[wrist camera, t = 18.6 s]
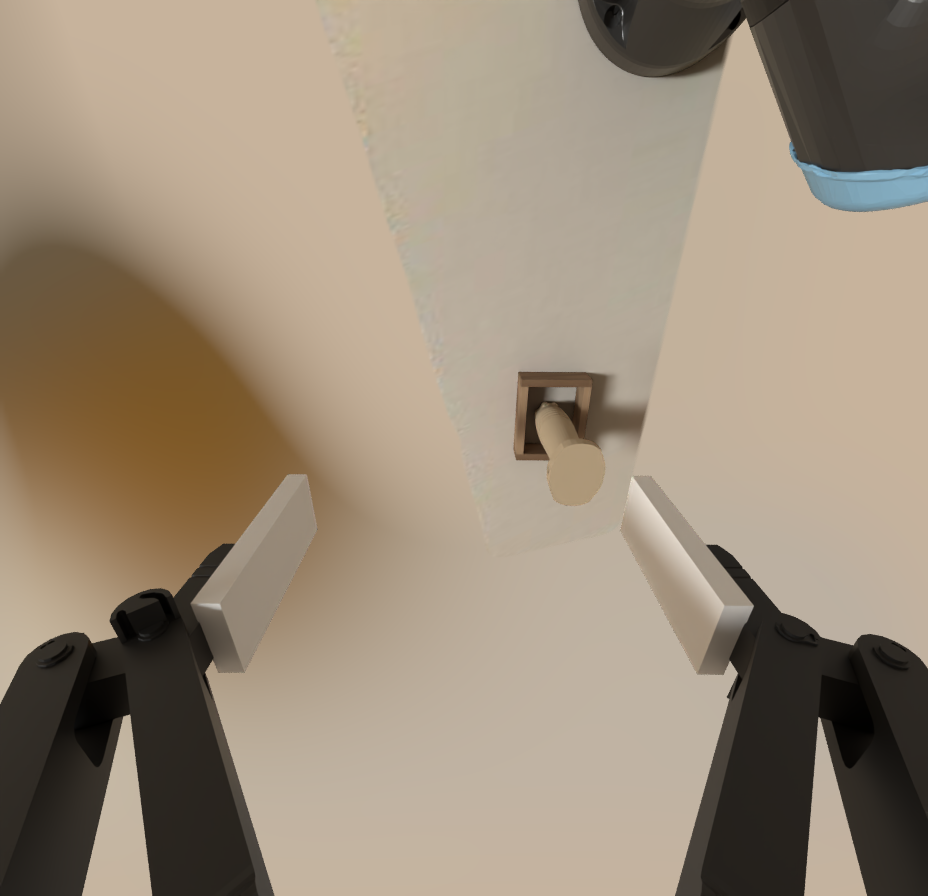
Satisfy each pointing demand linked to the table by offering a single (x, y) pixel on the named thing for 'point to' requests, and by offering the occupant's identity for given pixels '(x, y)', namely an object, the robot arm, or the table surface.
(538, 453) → the socket block
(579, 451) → the handle
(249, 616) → the robot arm
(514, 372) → the table surface
